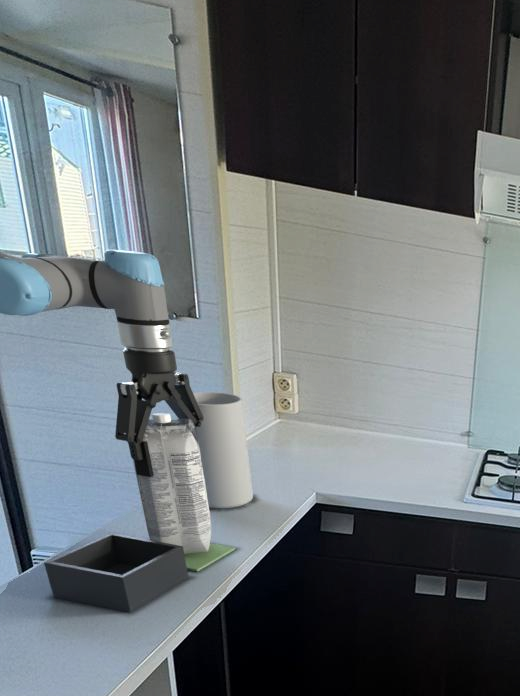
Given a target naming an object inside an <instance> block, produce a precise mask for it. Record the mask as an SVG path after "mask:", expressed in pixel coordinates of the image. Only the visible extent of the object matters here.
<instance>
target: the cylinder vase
mask: <svg viewBox="0 0 520 696" xmlns="http://www.w3.org/2000/svg"><path fill="white" fill-rule="evenodd" d="M193 394H194V396H195V399H196V401H197V403H198V406H199V408H200V410H201V412H202V415H203V417H204V419H203V421H199V422H201V426H200V427H196V430H197V437H198V443H199V448H200V454H201V461H202V467H203V473H204V480H205V486H206V492H207V499H208V505H209V509H232V508H237V507H241V506H244V505H246V504H249V503H250V502H251V501H252V500H253V498H254V493H253V484H252V483H253V482H252V475H251V466H250V458H249V450H248V442H247V441H248V440H247V433H246V424H245V416H244V408H243V400H242V397H241V396H238V395H237V394H232V393H226V392H214V391H200V392H193ZM194 414H195V413H194Z"/></svg>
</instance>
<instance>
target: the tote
mask: <svg viewBox="0 0 520 696" xmlns="http://www.w3.org/2000/svg"><path fill="white" fill-rule="evenodd" d="M43 565H44V569H45V571H46V575H47V578H48V582H49V586H50V590H51V592H52V597H53V598H56V599H62V600H66V601H71V602H75V603H80V604H81V603H82V604H87V605H90V606H91V605H92V606H97V607H100V608H101V607H102V608H107V609H112V610H118V611H122V612H127V613H132V612H133V611H135V610H137V609H139V608H140V607H142V606H144V605H146V604H147V603H149V602H151V601H152V600H154V599H155V598H157V597H159V596H161V595H162V594H163V593H165V592H168V591H169V590H171V589H172V588H174V587H176V586H177V585H180V584H181V583H183V582H185V581H186V580H188V579H189V578H190V577H189V572H188V570H187V566H186V561H185V555H184V550H183V546H179V545H174V544H168V543H163V542H158V541H152V540H150V539H147V538H142V537H137V536H131V535H125V534H120V533H113V532H110V533H107V534H106V535H104V536H101V537H99V538H96V539H94V540H92V541H90V542H88V543H85V544H83V545H80V546H78V547H76V548H74V549H71V550H70V551H69V550H68V551H67V552H64V553H62V554H60V555H58V556H55V557H53V558H50V559H48V560H47V561H44V562H43Z"/></svg>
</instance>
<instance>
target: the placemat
mask: <svg viewBox="0 0 520 696" xmlns="http://www.w3.org/2000/svg"><path fill="white" fill-rule="evenodd" d="M235 550H236V547H234V546H228V545H223V544H218V543H213V542H210V545H209V550H208V551H207V552H199V553H186V554H184V555H185V561H186V566H187V571H191V572H192V571H193V572H199V571H201V570H203V569H204V568H206V567H208V566H209V565H211V564H213V563H215V562H216V561H218V560H219V559H221V558H223V557H225V556H227V555H229V554H230V553H232V552H233V551H235Z"/></svg>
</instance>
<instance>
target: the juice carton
mask: <svg viewBox="0 0 520 696" xmlns="http://www.w3.org/2000/svg"><path fill="white" fill-rule="evenodd" d="M151 417H152V419H151V418H149V421H148V424H147V427H146V431H145V434H144V437H143V441H146V442H147V443H148V448H149V454H150V459H151V464H152V469H153V474H154V476H153V477H146V476H141V475H137V472H136V468H135V463H134V459H132V463H133V467H134V472H135V477H136V482H137V486H138V491H139V492H138V493H139V496H140V501H141V505H142V506H141V507H142V511H143V517H144V520H145V525H146V529H147V533H148V537H149V540H152V541H158V542H163V543H168V544H174V545H179V546H183V550H184V554H186V553H199V552H207V551H208V550H209V545H210V543H211V538H212V519H211V512H210V508H209V505H208V499H207V492H206V486H205V480H204V473H203V467H202V461H201V454H200V448H199V443H198V438H197V434H196V430H195V426H194V423H193V422H192V420H190V419H179V418H176V419H172V416H171V413H168V412H156V413H152V414H151ZM134 435H136V433H134Z"/></svg>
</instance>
